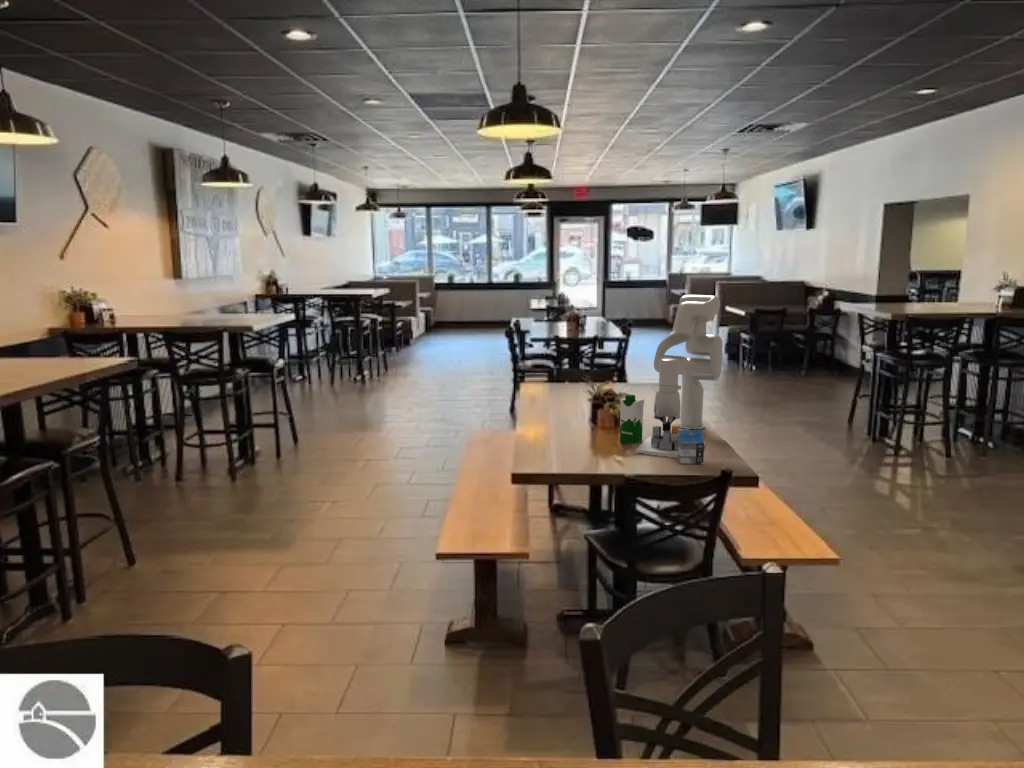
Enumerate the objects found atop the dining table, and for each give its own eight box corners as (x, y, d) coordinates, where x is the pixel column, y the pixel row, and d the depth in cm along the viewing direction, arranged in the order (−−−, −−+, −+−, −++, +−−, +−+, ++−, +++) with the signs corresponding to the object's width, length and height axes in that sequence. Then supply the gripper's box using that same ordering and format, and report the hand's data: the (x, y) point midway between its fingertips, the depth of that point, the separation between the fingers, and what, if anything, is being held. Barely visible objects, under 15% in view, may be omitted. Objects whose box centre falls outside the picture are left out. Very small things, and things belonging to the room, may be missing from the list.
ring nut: (694, 443, 299) (694, 426, 297) (684, 452, 286) (684, 434, 284) (658, 438, 306) (659, 422, 304) (647, 447, 293) (647, 430, 291)
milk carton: (616, 441, 308) (618, 395, 304) (626, 437, 315) (627, 391, 311) (636, 445, 303) (637, 397, 299) (645, 440, 310) (646, 394, 306)
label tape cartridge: (679, 464, 275) (681, 432, 273) (677, 461, 279) (678, 430, 277) (703, 464, 275) (705, 432, 273) (700, 461, 279) (702, 430, 277)
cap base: (649, 439, 311) (650, 425, 310) (704, 445, 302) (705, 431, 301) (635, 453, 290) (635, 438, 289) (693, 460, 281) (694, 444, 280)
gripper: (683, 386, 302) (681, 430, 305) (647, 387, 301) (646, 430, 304) (689, 390, 294) (687, 434, 298) (652, 390, 293) (650, 435, 297)
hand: (666, 432), depth 301 cm, fingers closed
